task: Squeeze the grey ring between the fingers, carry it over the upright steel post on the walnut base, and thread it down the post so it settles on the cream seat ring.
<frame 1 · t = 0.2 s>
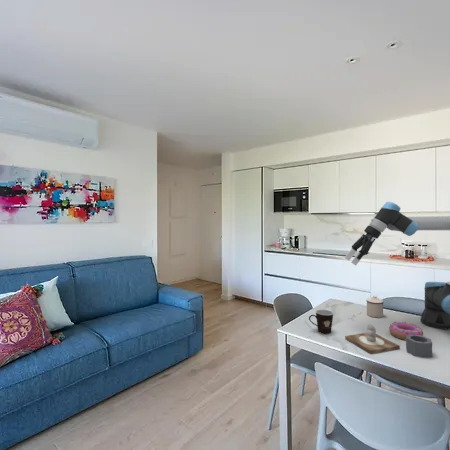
hand: (349, 261, 151), 36 cm above the table, tool tilted 35°, fingers open, 13 cm apart
post stand: (371, 343, 133), on the table
coffee mug: (321, 331, 149), on the table
teacup with lid: (373, 314, 172), on the table
donut: (405, 336, 141), on the table
ring: (418, 352, 124), on the table
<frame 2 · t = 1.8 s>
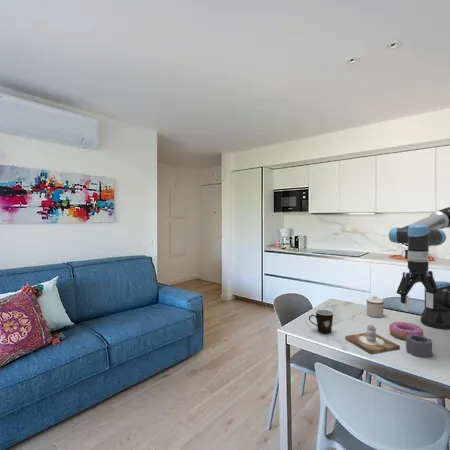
hand: (417, 309, 124), 19 cm above the table, tool pointing down, fingers open, 13 cm apart
nothing on the table moved.
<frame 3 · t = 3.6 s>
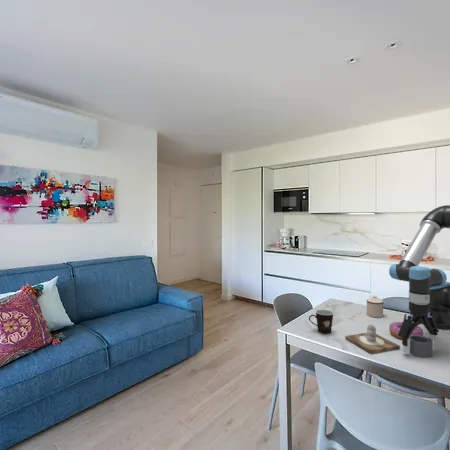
hand: (418, 350, 124), 1 cm above the table, tool pointing down, fingers open, 13 cm apart
nothing on the table moved.
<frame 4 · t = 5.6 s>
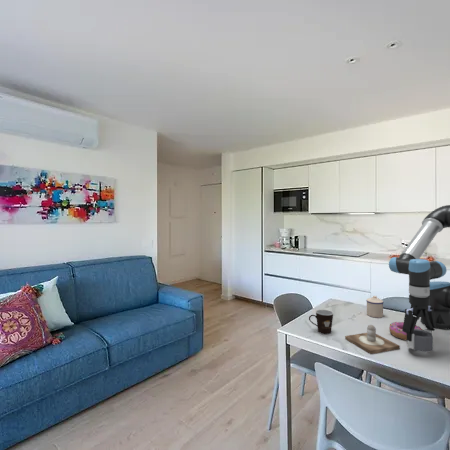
hand: (419, 346, 124), 3 cm above the table, tool pointing down, fingers closed on ring, 9 cm apart
ring: (419, 346, 124), point 2 cm above the table, touching gripper
everything else where it was.
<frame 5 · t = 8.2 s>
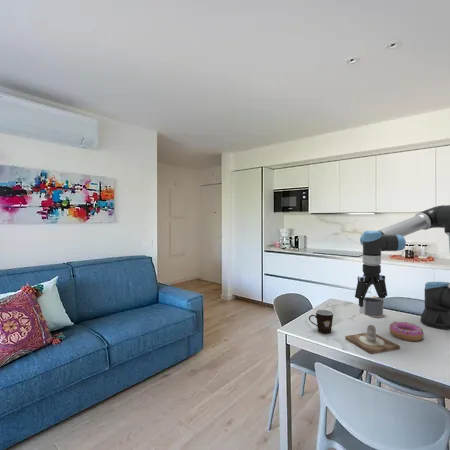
hand: (371, 312, 132), 15 cm above the table, tool pointing down, fingers closed on ring, 9 cm apart
ring: (371, 312, 132), point 15 cm above the table, touching gripper
everything else where it was.
when the fingers open (3 cm above the table, at t = 10.9 s): ring drops 1 cm, resting on post stand.
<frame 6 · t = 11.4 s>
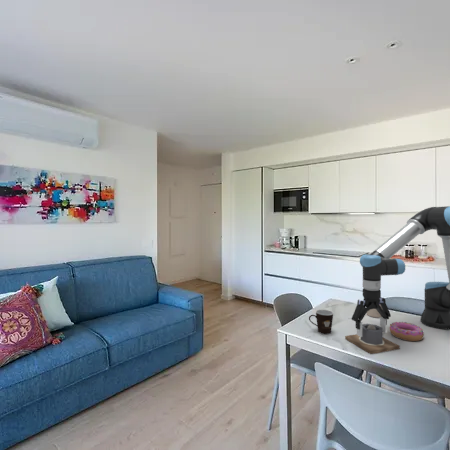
hand: (371, 333, 133), 5 cm above the table, tool pointing down, fingers open, 13 cm apart
ring: (371, 340, 133), point 2 cm above the table, touching post stand
everything else where it was.
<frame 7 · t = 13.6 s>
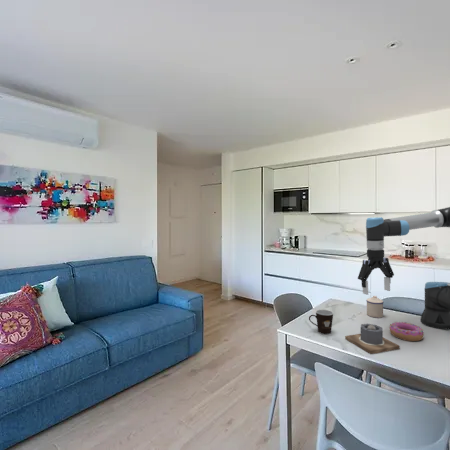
hand: (376, 292, 140), 22 cm above the table, tool pointing down, fingers open, 13 cm apart
nothing on the table moved.
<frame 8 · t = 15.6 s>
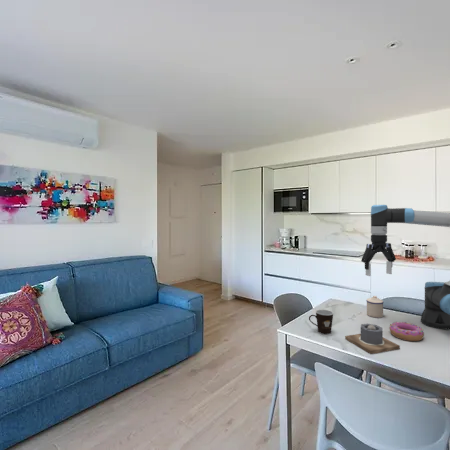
hand: (378, 274, 149), 29 cm above the table, tool pointing down, fingers open, 13 cm apart
nothing on the table moved.
at the end: ring 0.0 cm from the post stand (horizontally); ring point 1.7 cm above the table; the gripper is holding nothing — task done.
